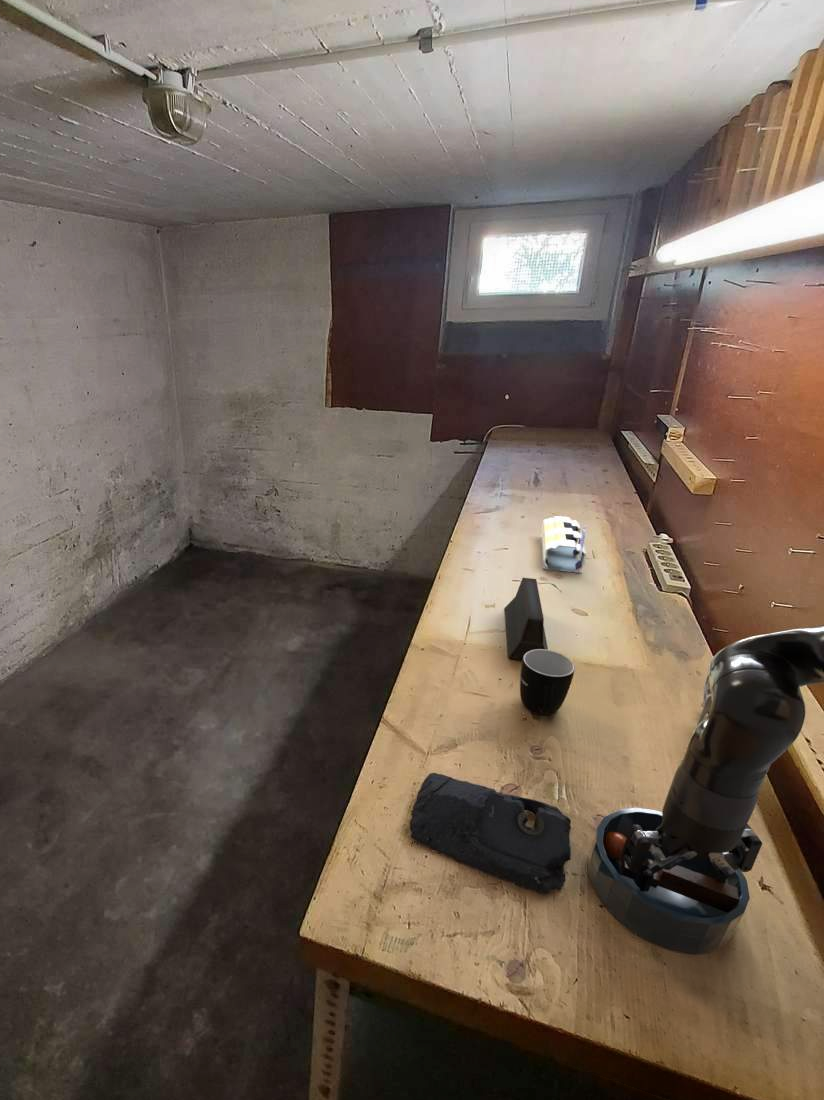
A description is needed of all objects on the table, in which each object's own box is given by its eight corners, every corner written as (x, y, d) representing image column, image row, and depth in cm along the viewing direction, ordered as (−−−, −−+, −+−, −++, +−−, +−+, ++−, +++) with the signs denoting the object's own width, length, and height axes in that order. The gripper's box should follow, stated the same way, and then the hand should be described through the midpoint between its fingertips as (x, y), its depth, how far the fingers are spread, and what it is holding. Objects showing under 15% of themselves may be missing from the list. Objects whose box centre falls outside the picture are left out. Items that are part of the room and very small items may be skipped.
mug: (514, 687, 115) (522, 645, 110) (562, 695, 112) (572, 652, 108) (516, 725, 105) (524, 681, 100) (568, 735, 102) (580, 690, 97)
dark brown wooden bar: (727, 898, 71) (736, 883, 70) (730, 917, 69) (740, 903, 68) (621, 857, 76) (627, 843, 75) (621, 874, 74) (627, 860, 73)
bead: (625, 850, 79) (599, 835, 81) (638, 837, 77) (610, 821, 79) (621, 871, 77) (594, 854, 78) (634, 857, 75) (606, 840, 76)
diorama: (581, 573, 160) (591, 530, 154) (542, 568, 163) (550, 526, 157) (575, 540, 180) (583, 502, 175) (540, 537, 184) (547, 499, 178)
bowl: (698, 846, 81) (711, 817, 78) (760, 967, 66) (778, 936, 64) (574, 829, 84) (582, 800, 81) (608, 940, 70) (619, 910, 67)
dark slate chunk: (427, 770, 95) (430, 749, 93) (570, 817, 86) (576, 795, 84) (401, 841, 83) (403, 818, 81) (564, 904, 74) (571, 880, 72)
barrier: (550, 664, 121) (559, 625, 117) (507, 659, 124) (514, 620, 119) (541, 612, 141) (548, 576, 137) (504, 607, 144) (509, 572, 139)
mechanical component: (691, 740, 100) (708, 695, 95) (693, 708, 107) (709, 665, 103) (711, 746, 98) (729, 701, 94) (712, 713, 106) (729, 670, 101)
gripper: (661, 829, 62) (631, 914, 70) (800, 827, 61) (753, 914, 68) (628, 775, 68) (604, 858, 76) (753, 772, 67) (715, 857, 75)
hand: (675, 884), depth 72 cm, fingers open, 8 cm apart
